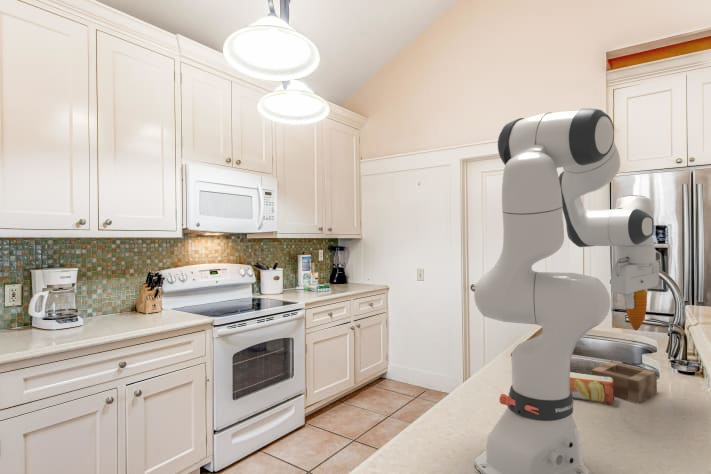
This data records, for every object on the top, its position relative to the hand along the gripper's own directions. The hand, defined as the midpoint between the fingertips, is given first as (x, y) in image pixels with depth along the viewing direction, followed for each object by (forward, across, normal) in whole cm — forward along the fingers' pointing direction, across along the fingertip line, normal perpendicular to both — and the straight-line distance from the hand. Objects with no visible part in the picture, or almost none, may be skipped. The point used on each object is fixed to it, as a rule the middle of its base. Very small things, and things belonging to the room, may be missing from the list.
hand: (635, 306), depth 109 cm
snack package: (+26, -10, +13) cm, 31 cm away
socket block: (+26, +4, +5) cm, 27 cm away
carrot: (+7, 0, 0) cm, 7 cm away
